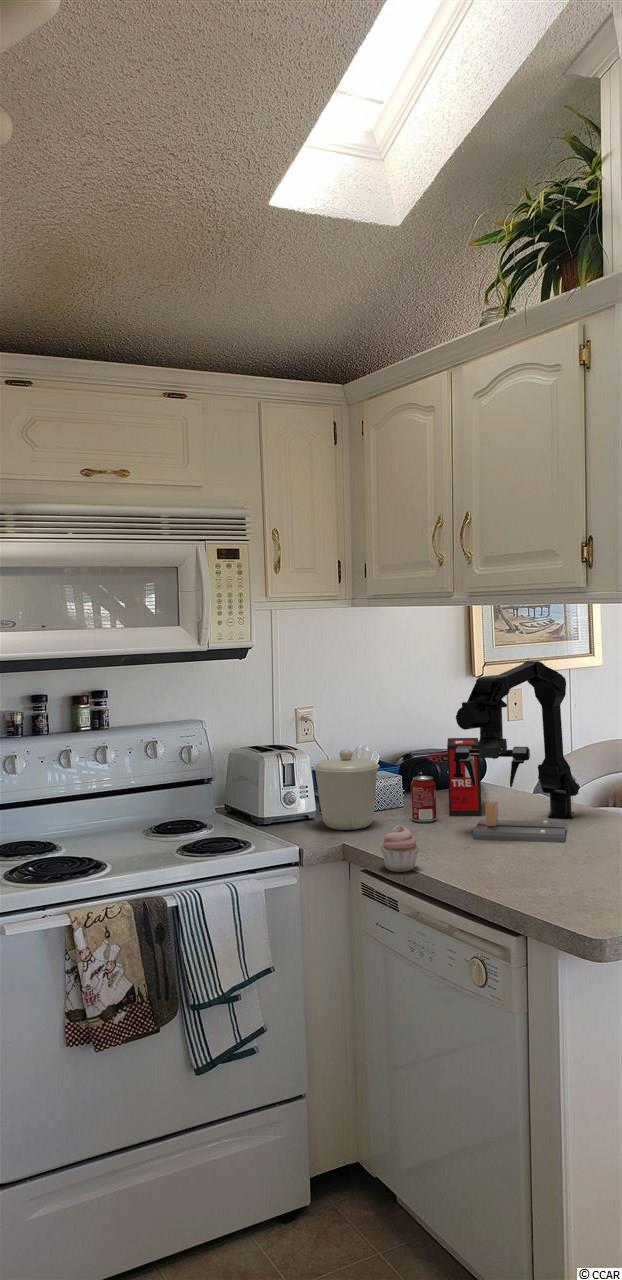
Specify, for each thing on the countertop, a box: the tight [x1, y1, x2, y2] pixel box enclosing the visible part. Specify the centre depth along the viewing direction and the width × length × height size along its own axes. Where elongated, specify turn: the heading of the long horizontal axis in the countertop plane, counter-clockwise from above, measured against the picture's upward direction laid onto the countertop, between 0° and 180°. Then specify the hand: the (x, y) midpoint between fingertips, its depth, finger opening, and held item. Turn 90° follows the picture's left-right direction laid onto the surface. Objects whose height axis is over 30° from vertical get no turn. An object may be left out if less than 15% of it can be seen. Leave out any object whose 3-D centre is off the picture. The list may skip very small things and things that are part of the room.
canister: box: [312, 748, 381, 831], centre depth 254 cm, size 18×18×21 cm
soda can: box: [410, 775, 437, 824], centre depth 258 cm, size 7×7×12 cm
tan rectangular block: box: [485, 801, 499, 826], centre depth 240 cm, size 6×2×6 cm, turn 162°
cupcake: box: [378, 823, 421, 873], centre depth 209 cm, size 9×9×10 cm
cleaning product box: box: [446, 737, 482, 817], centre depth 270 cm, size 16×9×20 cm, turn 171°
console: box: [472, 818, 567, 843], centre depth 238 cm, size 14×22×2 cm, turn 72°
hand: (492, 786), depth 240 cm, fingers open, 9 cm apart
